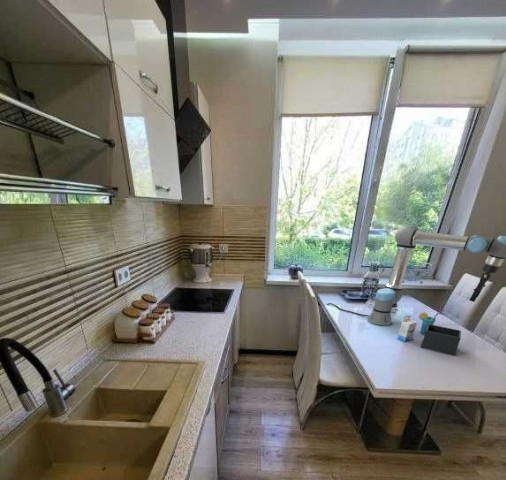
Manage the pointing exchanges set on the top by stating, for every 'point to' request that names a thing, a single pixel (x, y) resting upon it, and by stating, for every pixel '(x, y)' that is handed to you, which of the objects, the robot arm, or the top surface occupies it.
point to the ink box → (407, 329)
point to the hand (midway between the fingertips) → (473, 298)
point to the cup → (427, 321)
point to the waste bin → (441, 339)
